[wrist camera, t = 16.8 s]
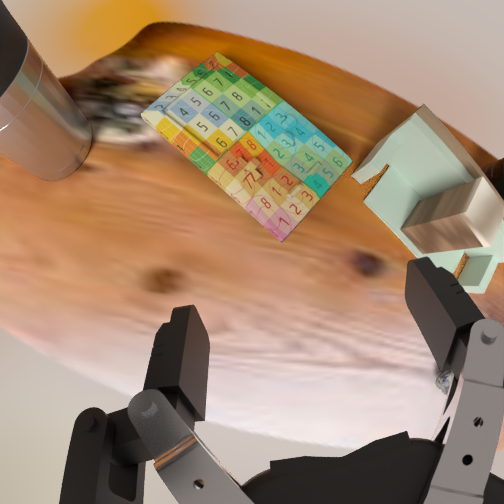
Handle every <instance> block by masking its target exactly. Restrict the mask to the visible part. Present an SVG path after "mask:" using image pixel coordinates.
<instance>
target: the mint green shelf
mask: <svg viewBox="0 0 504 504" xmlns="http://www.w3.org/2000/svg"><path fill="white" fill-rule="evenodd" d="M386 163H387V164H388V165H389V167H388V169H387V170H386V171H385V173H384V174H383V175H382V177H381V178H380V179H379V181H378V182H377V184H376V185H375V186H374V188H373V189H372V190H371V192H370V193H369V194H368V196H367V197H366V198H365V200H364V201H363V202H364V203H365V204H366V205H367V206H368V207H369V208H370V209H371V210H372V211H373V212H374V213H375V214H376V215H377V216H378V217H379V218H380V219H381V220H382V221H383V222H384V223H385V224H386V225H387V226H388V227H389V228H390V229H391V230H392V231H393V233H394V234H395V235H396V236H397V237H398V238H399V239H400V240H401V241H402V242H403V243H404V244H405V245H406V246H407V247H408V248H409V250H410V251H411V252H412V253H413V254H414V255H415V256H416V257H417V258H422V257H426V256H427V257H429V258H430V259H431V261H432V262H433V263H434V265H435V266H436V267H441V266H442V267H443V268H445V269H446V270H448V271H449V272H451V273H452V274H453V272H454V271H455V269H456V267H457V265H458V263H459V261H460V260H461V258H462V256H463V254H464V252H465V253H466V254H467V256H468V257H469V258H468V260H467V262H466V264H465V266H464V268H463V270H462V272H461V274H460V275H459V277H458V279H457V280H458V282H459V284H461V286H462V287H463V288H464V290H465V292H467V293H484V292H485V290H486V288H487V286H488V284H489V282H490V280H491V278H492V275H493V273H494V271H495V269H496V267H497V264H498V263H503V262H504V217H503V219H502V222H501V224H500V227H499V229H498V231H497V234H496V236H495V238H494V241H493V243H492V245H491V247H478V248H470V249H462V250H454V251H445V252H437V253H429V254H422V253H421V252H420V251H419V250H418V249H417V248H416V246H415V245H414V244H413V243H412V242H411V241H410V240H409V239H408V238H407V237H406V235H405V234H404V233H403V232H402V231H401V230H400V229H401V227H402V226H403V224H404V223H405V221H406V220H407V218H408V217H409V215H410V214H411V212H412V210H413V209H414V207H415V206H416V204H417V203H418V201H420V200H423V199H425V198H428V197H431V196H434V195H436V194H439V193H442V192H444V191H447V190H450V189H452V188H455V187H458V186H460V185H463V184H466V183H468V182H471V181H474V180H476V179H477V178H480V177H482V176H483V177H484V178H485V180H486V181H487V183H488V184H489V185H490V187H491V188H492V190H493V191H494V192H495V194H496V195H497V197H498V198H499V200H500V201H501V203H502V204H503V206H504V201H503V199H502V198H501V196H500V195H499V193H498V192H497V191H496V189H495V188H494V186H493V185H492V184H491V182H490V181H489V179H488V178H487V177H486V175H485V174H484V173H483V171H482V170H481V169H480V167H479V166H478V165H477V164H476V162H475V161H474V160H473V158H472V157H471V156H470V155H469V153H468V152H467V151H466V150H465V149H464V147H463V146H462V145H461V144H460V143H459V141H458V140H457V139H456V138H455V137H454V136H453V134H452V133H451V132H450V131H449V130H448V129H447V128H446V127H445V126H444V124H443V123H442V122H441V121H440V120H439V119H438V118H437V117H436V116H435V115H434V114H433V113H432V112H431V111H430V110H429V109H428V107H427V106H425V104H423V105H422V106H421V107H419V108H418V109H417V111H416V112H415V113H414V114H413V115H411V116H410V117H409V118H408V119H406V120H405V121H404V122H403V123H401V124H400V125H399V126H398V127H396V128H395V129H394V130H393V131H391V132H390V133H389V134H388V135H386V136H385V137H384V138H383V139H381V140H380V141H379V142H378V143H377V144H376V145H375V147H374V148H373V149H372V150H371V152H370V153H369V154H368V155H367V157H366V158H365V159H364V160H363V162H362V163H361V164H360V165H359V167H358V168H357V169H356V170H355V172H354V173H353V174H352V175H351V176H352V177H353V178H355V179H356V180H357V181H358V182H359V183H360V184H362V183H363V182H365V181H367V180H368V179H370V178H371V177H373V176H375V175H376V174H378V173H379V172H381V170H382V169H383V168H384V166H385V165H386Z"/></svg>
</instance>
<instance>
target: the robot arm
mask: <svg viewBox="0 0 504 504" xmlns="http://www.w3.org/2000/svg"><path fill="white" fill-rule="evenodd" d="M91 141H92V129H91V126H90V123H89V122H88V120H87V119H86V117H85V116H84V115H83V113H82V112H81V111H80V109H79V108H78V107H77V105H76V104H75V103H74V101H73V100H72V99H71V97H70V96H69V94H68V93H67V92H66V90H65V89H64V88H63V86H62V85H61V84H60V82H59V81H58V80H57V78H56V77H55V75H54V74H53V73H52V71H51V70H50V69H49V68H48V66H47V65H46V63H45V62H44V60H43V59H42V57H41V56H40V55H39V53H38V52H37V51H36V49H35V48H34V46H33V45H32V43H31V42H30V41H29V39H28V38H27V36H26V35H25V33H24V32H23V30H22V29H21V28H20V26H19V25H18V23H17V22H16V21H15V19H14V18H13V17H12V15H11V14H10V12H9V11H8V9H7V8H6V6H5V5H4V4H3V2H2V0H0V154H2V155H3V156H5V157H7V158H8V159H10V160H11V161H13V162H15V163H16V164H18V165H20V166H21V167H23V168H24V169H26V170H28V171H29V172H31V173H33V174H34V175H36V176H38V177H39V178H41V179H44V180H47V181H55V180H60V179H62V178H64V177H67V176H68V175H70V174H71V173H73V172H74V171H75V170H76V169H77V168H78V167H79V166H80V165H81V163H82V162H83V161H84V159H85V158H86V156H87V154H88V152H89V149H90V146H91ZM405 299H406V303H407V306H408V308H409V310H410V312H411V314H412V316H413V318H414V319H415V321H416V323H417V325H418V327H419V329H420V331H421V333H422V335H423V336H424V338H425V340H426V342H427V344H428V346H429V348H430V350H431V352H432V354H433V356H434V358H435V360H436V362H437V364H438V366H439V369H440V371H441V372H443V371H446V370H448V369H451V370H452V372H453V377H452V380H451V383H450V387H449V391H448V394H447V398H446V401H445V404H444V408H443V411H442V414H441V417H440V420H439V422H438V425H437V427H436V429H435V431H434V434H433V436H432V438H431V440H428V439H422V438H409V435H408V432H407V431H405V432H402V433H399V434H396V435H392V436H389V437H386V438H382V439H379V440H375V441H373V442H371V443H369V444H368V445H366V446H364V447H362V448H360V449H358V450H356V451H354V452H352V453H350V454H348V455H346V456H343V457H311V456H302V457H296V458H289V459H282V460H276V461H270V469H268V470H265V471H263V472H261V473H259V474H257V475H256V476H254V477H252V478H251V479H249V480H248V481H247V482H245V483H244V484H243V485H241V484H240V483H239V482H238V481H237V480H236V479H235V478H234V477H233V476H232V474H230V472H229V471H228V470H227V469H226V468H225V467H224V466H223V465H222V464H221V463H220V461H219V460H218V459H217V458H216V457H215V456H214V455H213V453H212V452H211V451H210V450H209V449H208V448H207V447H206V445H205V444H204V443H203V442H202V440H201V439H200V438H199V437H198V435H197V434H196V433H195V432H194V425H195V422H196V421H205V409H206V393H207V379H208V365H209V352H210V343H209V337H208V334H207V331H206V329H205V327H204V324H203V322H202V320H201V318H200V316H199V313H198V311H197V309H196V307H195V306H194V305H187V306H182V307H176V308H174V309H173V311H172V315H171V320H170V322H168V323H163V324H162V326H161V327H160V329H159V330H158V332H157V333H156V336H155V340H154V344H153V346H154V347H153V348H152V352H151V357H150V361H149V365H148V370H147V374H146V379H145V383H144V388H143V391H141V392H139V393H138V394H136V395H135V396H134V397H133V398H132V400H131V401H130V403H129V406H128V407H127V408H124V409H122V410H119V411H115V412H112V413H109V414H106V413H105V412H104V411H103V410H101V409H99V408H95V407H93V408H88V409H86V410H84V411H83V412H81V413H80V414H79V416H78V417H77V419H76V421H75V424H74V428H73V432H72V437H71V441H70V446H69V450H68V455H67V461H66V465H65V471H64V476H63V483H62V488H61V494H60V501H59V504H143V496H144V479H145V464H146V461H149V460H152V459H154V460H155V463H154V467H155V469H156V471H157V472H158V474H159V476H160V477H161V479H162V480H163V482H164V483H165V485H166V486H167V487H168V489H169V490H170V492H171V493H172V495H173V496H174V497H175V499H176V500H177V501H178V503H179V504H504V480H503V479H501V478H499V477H498V476H496V475H494V474H492V473H490V470H491V466H492V463H493V459H494V455H495V452H496V448H497V444H498V440H499V435H500V431H501V426H502V421H503V416H504V327H503V326H502V325H501V324H500V323H499V322H497V321H495V320H492V319H485V317H484V316H483V314H482V313H481V312H480V310H479V309H478V307H477V306H476V305H475V303H474V302H473V300H472V299H471V298H470V296H469V295H468V294H467V292H465V290H464V288H463V287H462V286H461V284H459V282H458V280H457V279H456V278H455V276H454V275H453V274H452V273H451V272H449V271H448V270H446V269H445V268H443V267H442V266H441V267H436V266H435V265H434V263H433V262H432V261H431V259H430V258H429V257H427V256H426V257H422V258H418V259H413V260H410V261H408V264H407V275H406V286H405Z"/></svg>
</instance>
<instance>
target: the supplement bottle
mask: <svg viewBox="0 0 504 504" xmlns="http://www.w3.org/2000/svg"><path fill="white" fill-rule="evenodd" d="M480 169H481V170H482V171H483V173H484V174H485V175H486V177H487V178H488V179H489V181H490V182H491V184H492V185H493V186H494V188H495V189H496V191H497V192H498V193H499V195H500V196H501V198H502V199H503V201H504V158H503V159H500V160H498V161H496V162H494V163H491V164H489V165H487V166H485V167H482V168H480Z"/></svg>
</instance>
